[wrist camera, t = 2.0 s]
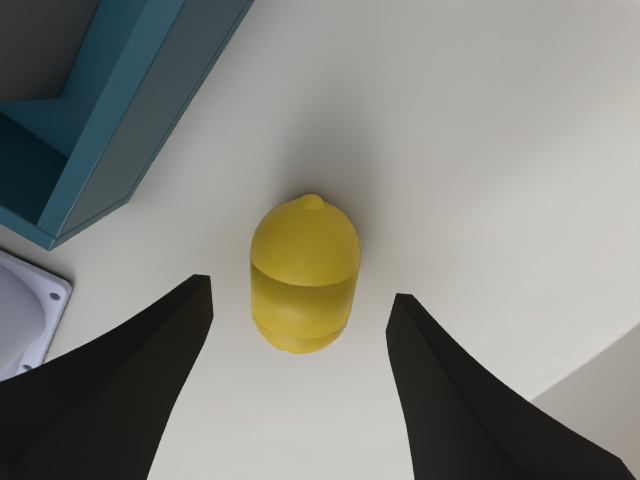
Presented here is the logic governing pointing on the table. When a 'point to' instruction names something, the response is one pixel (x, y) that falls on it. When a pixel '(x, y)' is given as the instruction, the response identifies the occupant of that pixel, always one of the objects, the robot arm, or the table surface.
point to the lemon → (303, 274)
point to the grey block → (40, 45)
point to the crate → (107, 113)
